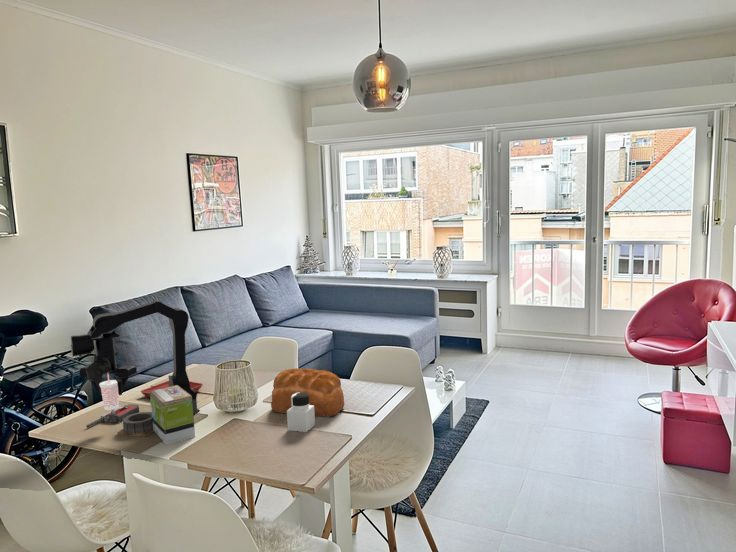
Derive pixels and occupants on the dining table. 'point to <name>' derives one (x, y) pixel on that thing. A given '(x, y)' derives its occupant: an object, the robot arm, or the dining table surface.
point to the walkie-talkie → (117, 414)
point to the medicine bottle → (300, 413)
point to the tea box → (172, 414)
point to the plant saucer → (146, 392)
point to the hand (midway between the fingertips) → (110, 394)
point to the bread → (308, 390)
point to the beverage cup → (110, 394)
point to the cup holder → (137, 424)
